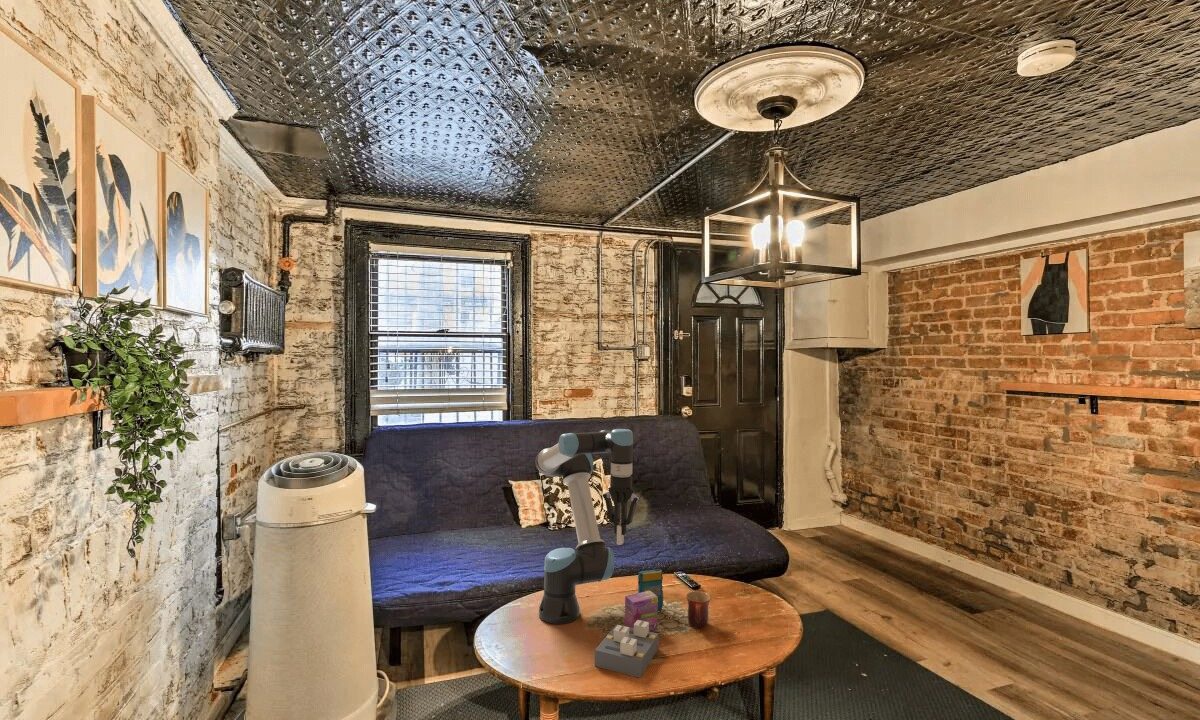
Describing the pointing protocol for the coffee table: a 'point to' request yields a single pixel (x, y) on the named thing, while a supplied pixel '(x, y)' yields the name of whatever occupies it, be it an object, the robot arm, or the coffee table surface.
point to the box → (641, 609)
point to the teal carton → (652, 584)
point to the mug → (698, 609)
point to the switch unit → (630, 665)
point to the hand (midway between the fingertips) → (620, 543)
